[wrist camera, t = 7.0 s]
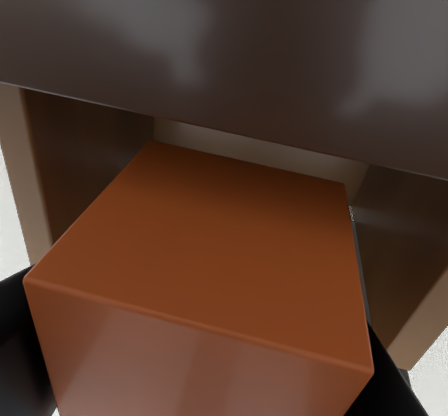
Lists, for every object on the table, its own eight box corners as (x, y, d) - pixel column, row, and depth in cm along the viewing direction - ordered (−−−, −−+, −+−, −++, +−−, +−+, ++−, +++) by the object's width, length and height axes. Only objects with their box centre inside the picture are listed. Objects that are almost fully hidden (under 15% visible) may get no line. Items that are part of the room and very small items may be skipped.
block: (293, 312, 10) (284, 500, 6) (146, 274, 10) (62, 433, 7) (346, 181, 7) (377, 374, 4) (149, 138, 8) (19, 278, 4)
